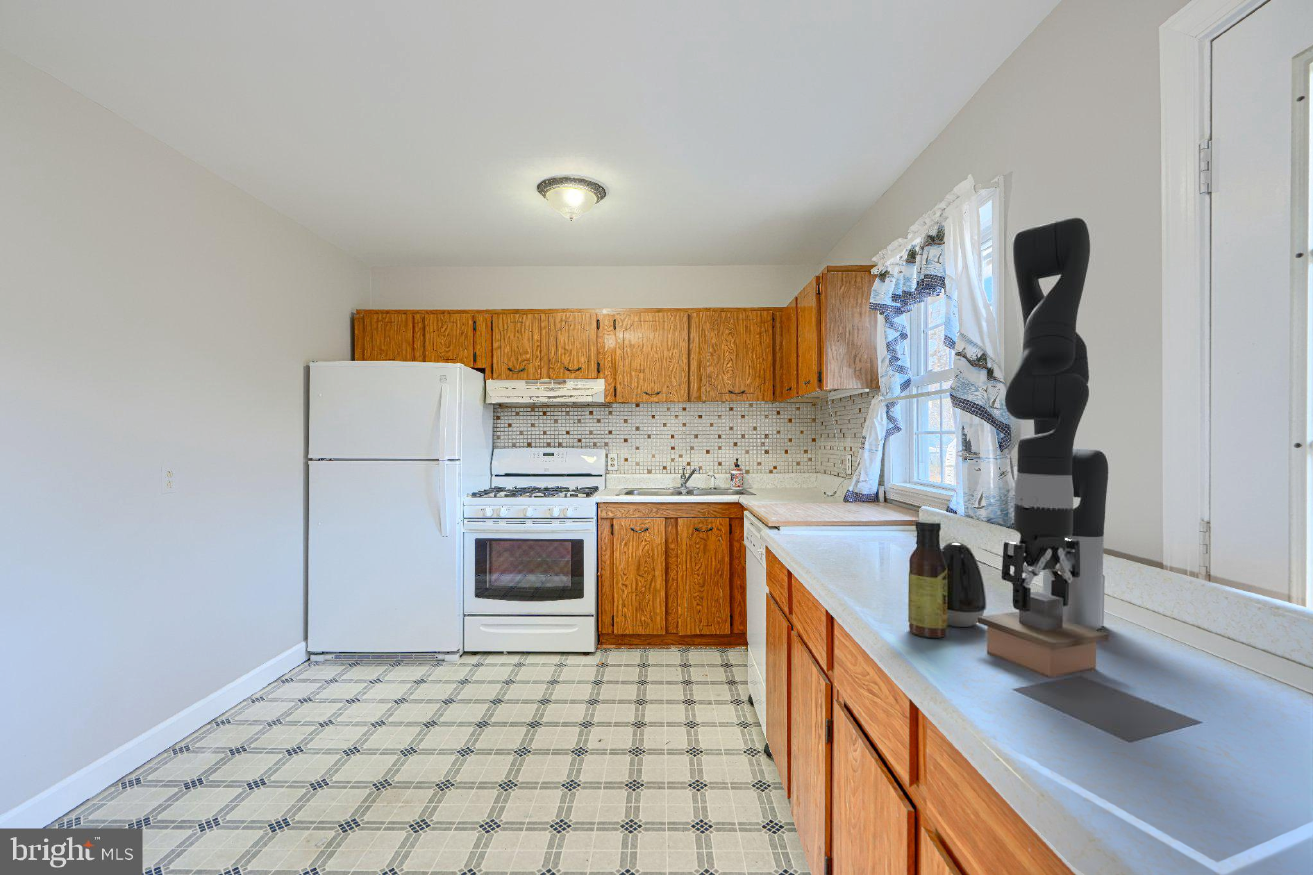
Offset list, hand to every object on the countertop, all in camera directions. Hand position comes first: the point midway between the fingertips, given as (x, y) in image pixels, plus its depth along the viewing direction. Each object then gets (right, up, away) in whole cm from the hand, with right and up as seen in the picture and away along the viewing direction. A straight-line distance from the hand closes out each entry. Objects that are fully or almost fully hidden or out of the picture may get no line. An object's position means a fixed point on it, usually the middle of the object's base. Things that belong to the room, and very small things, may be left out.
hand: (1040, 607), depth 87 cm
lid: (0, -4, 0) cm, 4 cm away
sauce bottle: (-12, -9, +13) cm, 19 cm away
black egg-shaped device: (-3, -9, +19) cm, 21 cm away
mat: (-2, -9, -15) cm, 17 cm away
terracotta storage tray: (0, -9, 0) cm, 9 cm away
